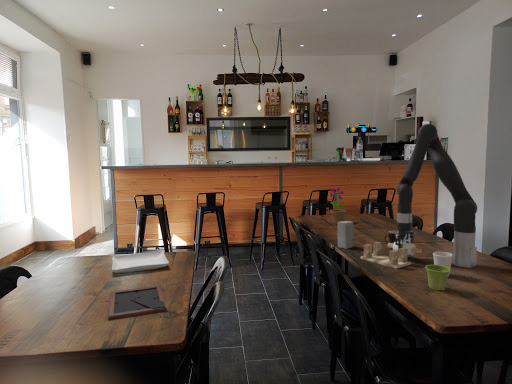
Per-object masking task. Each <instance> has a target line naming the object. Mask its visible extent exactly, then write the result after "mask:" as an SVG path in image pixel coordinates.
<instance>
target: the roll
mask: <svg viewBox="0 0 512 384" xmlns="http://www.w3.org/2000/svg"><path fill="white" fill-rule="evenodd" d="M397 243H398V241H397ZM387 248H388V249H390V248H393V250H397V251H398V246H397V245H395V242H394V244H393V243H389V242H388V243H387ZM403 248H408V256H414V255H415V254H419V255H422V254H423V249H422V248H419V247H417V246H416V244H414V243H411V244H410V243H406V242H404V243H403ZM398 254H399V252H398Z"/></svg>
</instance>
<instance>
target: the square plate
mask: <svg viewBox="0 0 512 384" xmlns="http://www.w3.org/2000/svg"><path fill="white" fill-rule="evenodd" d="M111 259H112V265H111V271H112V272H113V273H116V274H123V273H125V274H127V273H134V272H141V271H149V270H156V269H160V268H165V267H166V266H168V265H169V263H170V262H169V259H168V258H167V257H166V254H165V252H164V251H163V250H159V251H158V250H157V251H146V252H138V253H137V252H136V253H130V254H129V253H128V254H121V255H115V256H112V258H111Z"/></svg>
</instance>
